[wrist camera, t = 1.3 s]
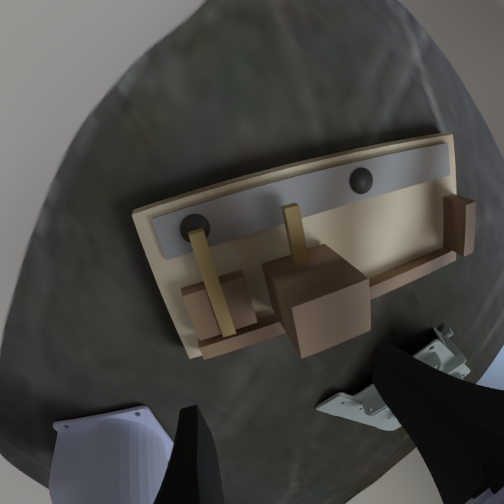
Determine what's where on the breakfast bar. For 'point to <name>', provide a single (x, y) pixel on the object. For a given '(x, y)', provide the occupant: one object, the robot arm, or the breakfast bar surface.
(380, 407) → the metal bracket
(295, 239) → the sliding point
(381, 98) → the breakfast bar surface
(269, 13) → the breakfast bar surface
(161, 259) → the gauge board
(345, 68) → the breakfast bar surface
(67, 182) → the breakfast bar surface
